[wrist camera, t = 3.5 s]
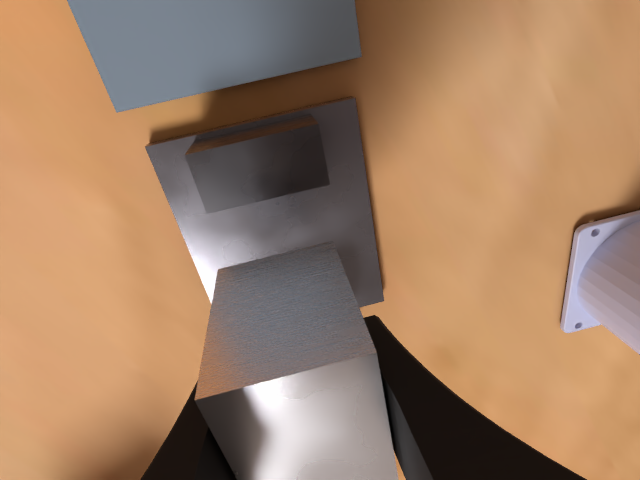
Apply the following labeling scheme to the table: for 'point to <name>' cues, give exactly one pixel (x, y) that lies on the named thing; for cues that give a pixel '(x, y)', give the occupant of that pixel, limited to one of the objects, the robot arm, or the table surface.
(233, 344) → the steel block
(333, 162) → the vise
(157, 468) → the robot arm
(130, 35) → the pad
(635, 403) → the table surface
